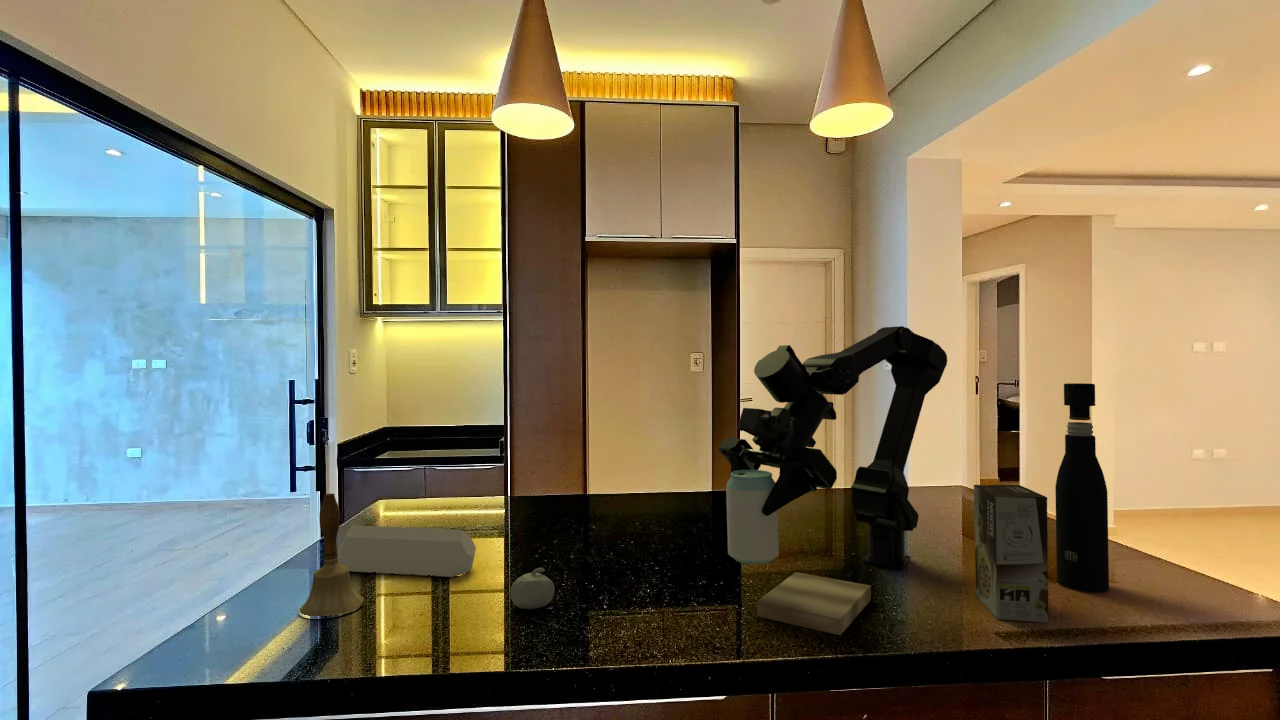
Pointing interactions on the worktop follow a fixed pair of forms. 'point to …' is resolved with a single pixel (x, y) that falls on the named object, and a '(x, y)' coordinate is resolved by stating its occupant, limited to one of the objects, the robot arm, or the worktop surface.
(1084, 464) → the black bottle
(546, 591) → the grey pumpkin
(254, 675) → the worktop surface
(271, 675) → the worktop surface
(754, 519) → the can
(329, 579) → the hand bell
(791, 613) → the beige wooden slab
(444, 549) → the crystal
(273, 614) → the worktop surface
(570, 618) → the worktop surface
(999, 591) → the coffee box
